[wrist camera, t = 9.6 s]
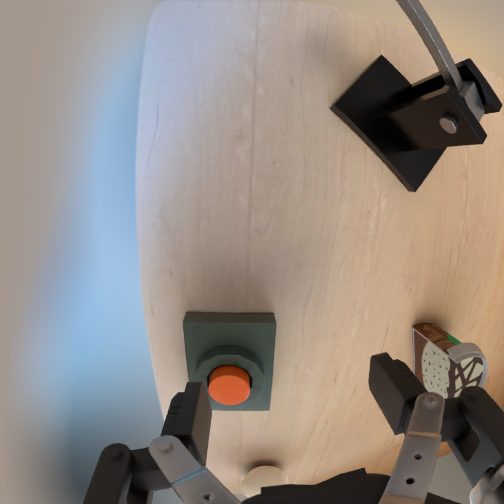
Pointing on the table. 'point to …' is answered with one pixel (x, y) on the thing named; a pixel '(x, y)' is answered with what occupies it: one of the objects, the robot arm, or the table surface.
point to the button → (229, 385)
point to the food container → (446, 361)
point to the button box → (232, 352)
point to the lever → (442, 55)
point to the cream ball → (262, 479)
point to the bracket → (413, 116)
